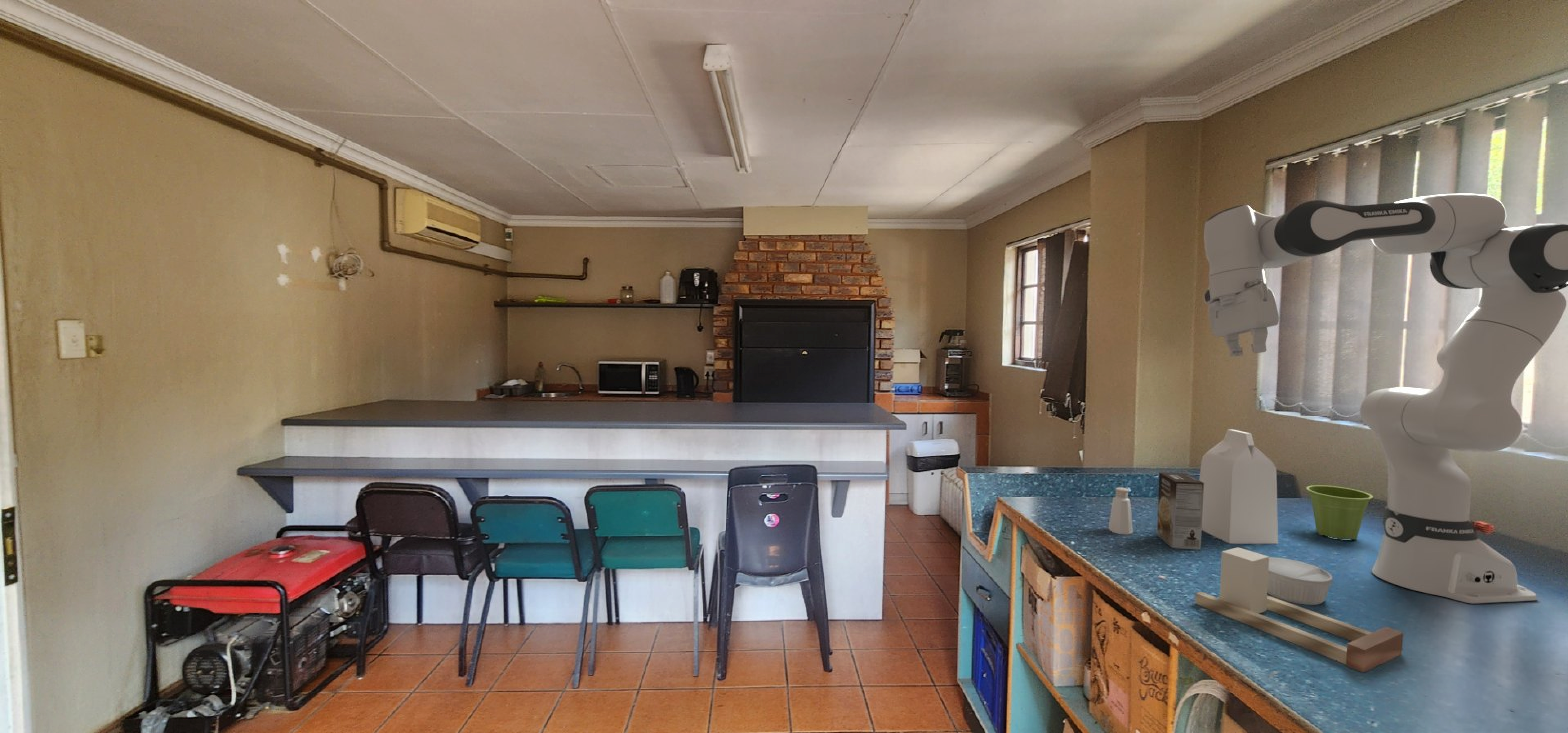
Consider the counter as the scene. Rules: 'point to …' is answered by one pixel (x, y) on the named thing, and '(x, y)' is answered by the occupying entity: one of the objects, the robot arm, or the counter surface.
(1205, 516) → the milk
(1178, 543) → the coffee box
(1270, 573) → the ramekin
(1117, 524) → the pepper shaker
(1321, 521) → the plant pot
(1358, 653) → the keeper track
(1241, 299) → the robot arm
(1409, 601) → the counter surface
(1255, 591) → the block
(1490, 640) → the counter surface
